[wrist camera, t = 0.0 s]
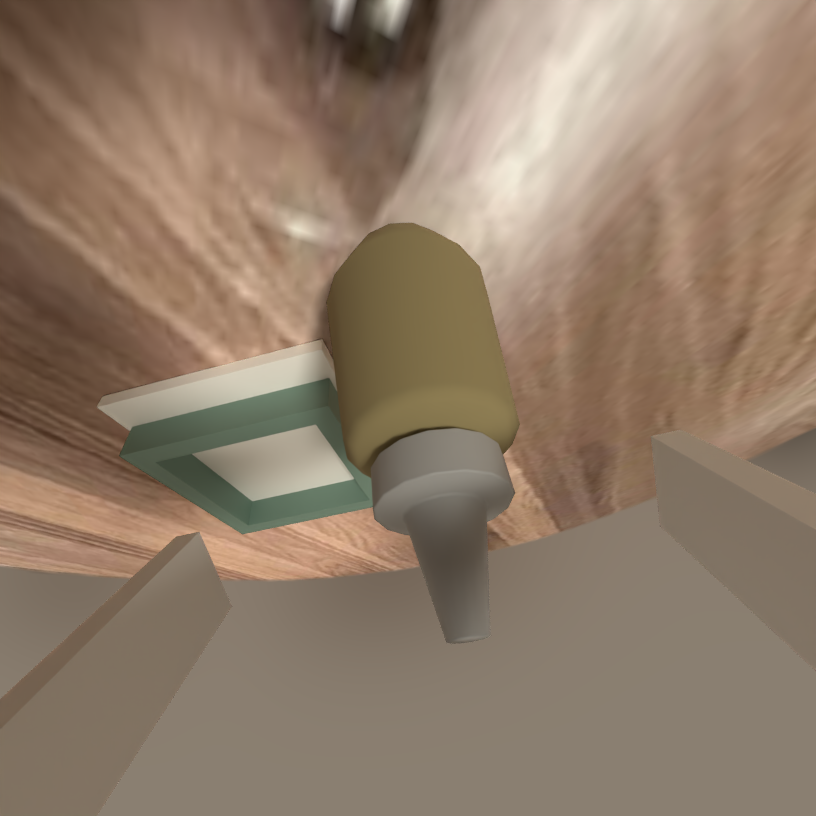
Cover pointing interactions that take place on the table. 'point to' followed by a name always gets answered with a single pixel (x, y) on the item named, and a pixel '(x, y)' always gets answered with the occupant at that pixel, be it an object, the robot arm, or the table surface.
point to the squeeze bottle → (426, 407)
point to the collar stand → (247, 439)
